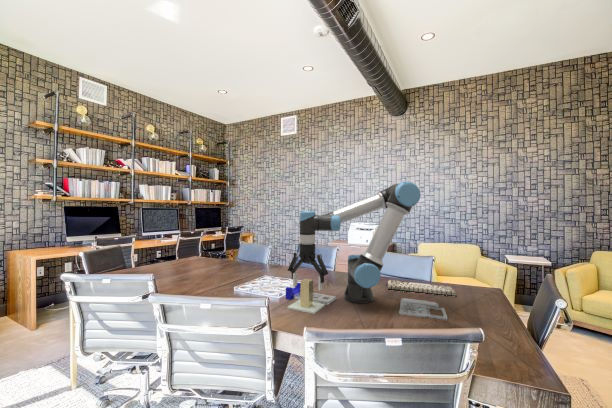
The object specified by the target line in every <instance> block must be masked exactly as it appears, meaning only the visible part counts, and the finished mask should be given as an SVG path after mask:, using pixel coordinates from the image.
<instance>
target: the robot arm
mask: <svg viewBox="0 0 612 408" xmlns="http://www.w3.org/2000/svg"><path fill="white" fill-rule="evenodd" d="M420 199H421V190H420V188H419V187H418V186H417V184H416V183H414V182H411V181H401V182H399V183H394V184H392V185H389V186H388V187H386V188H385V189H384V188H383V190H380V191H378V192H377V193H376V194H375V195H372V196H369V197H367V198H365V199H362V200H359V201H357V202H354V203H352V204H349V205H346V206H343V207H341V208H338V209H335V210H333V211H330V212H328V213H324V214H320V215H318V214H316V211H314V210H302V211H300V213H299V252H297V251H296V252H294V253H293V257H292V259H291V261H290V264H289V267H288V269H287V271H288V272H290V273H291V280H292V288H294V287H295V286H297V283H298V272H297V270H298V269H299V267H301V265H302V264H311V265H312V266H313V268H314V269H315V270H316V272H317V273H318V274H319V276H318V291H322V290H323V284H324V282H325V276H326V275H328V274H329V272H328V269H327V267H326V265H325V263H324V261H323V258H322V257H323V256H322V253H320V254H316V244H315V243H316V232H319V231H320V232H335V231H336V232H337V231H340V230H341V227H342V226H341V225H342V224H344V223H346V222H348V221H352V220H355V219H356V218H359V217H362V216H364V215H367V214H370V213H373V212H375V211H377V210H381V209H382V210H385V212H384V213H383V215H382V218H381V219H380V222H379V223H378V226H377V228H376V229H375V232H374V234H373V235H372V237H371V240H370V241H369V244H368V246H367V248H366V249H365V251H364V252H362V253H361V252H360V254H349V255H348V256H347V284H346V287H345V289H344V291H343V298H344V300H346V301H348V302H349V303H355V304H369V303H371V302H374V293H373V290H372V288H374V287H375V286H377V285H378V284H379V283H380V281H381V270H382V269H383V267H384V262H383V259H384V257H385V255H386V253H387V251H388V249H389V247H390V246H391V243H392V241H393V239H394V237H395V234H396V233H397V231H398V229H399V227H400V225H401V223H402V221H403V219H404V217H405V216H407V215H409V214H410V212H411V211H412V209H413V207H414V206H415V205H417V204H418V203H419V201H420ZM298 258H300V259H299V260H298ZM297 260H298V261H297Z"/></svg>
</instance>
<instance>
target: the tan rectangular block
mask: <svg viewBox="0 0 612 408" xmlns="http://www.w3.org/2000/svg"><path fill="white" fill-rule="evenodd" d="M300 283H301V290H300V306H302V307H307V308H309V307H311V306H312V305H313V298H314V297H313V293H314V279H311V278H303V279H302V280H300Z"/></svg>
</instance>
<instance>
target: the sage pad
mask: <svg viewBox="0 0 612 408" xmlns="http://www.w3.org/2000/svg"><path fill="white" fill-rule="evenodd" d="M325 306H326V305H325V304H321V303H315V302H313V305H312V306H311V307H309V308H307V307H302V306H300V300H298V299H297V300H296V301H295V302H293V303H291V304H289V305H288V306H287V307H286V308H287V309H288V310H293V311H298V312H304V313H307V314H312V315H315V314H316V313H318V312H319V311H321V310H322V309H323V308H324V307H325Z"/></svg>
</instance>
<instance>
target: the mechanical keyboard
mask: <svg viewBox="0 0 612 408" xmlns="http://www.w3.org/2000/svg"><path fill="white" fill-rule="evenodd" d="M387 283H388V284H387ZM385 286H387V287H386V289H387V288H388V290H394V291H396V292H395V293H398V292H397V291H400V292H401V291H402V292H403V291H404V292H405V293H404V294H407V293H406V292H409V293H408V294H410V292H415V293H425V294H434V295H433V296H438V295H444V296H443V297H448V296H456V297H457V293H456V291H455V290H454V289H453V288H452V286H447V285H437V284H436V285H435V284H429V283H420V282H410V281H409V282H407V281H403V282H402V281H400V280H396V279H395V280H391V279H389V280H388V282H386V283H385ZM388 290H387V291H388ZM400 292H399V293H400ZM446 295H447V296H446Z"/></svg>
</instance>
